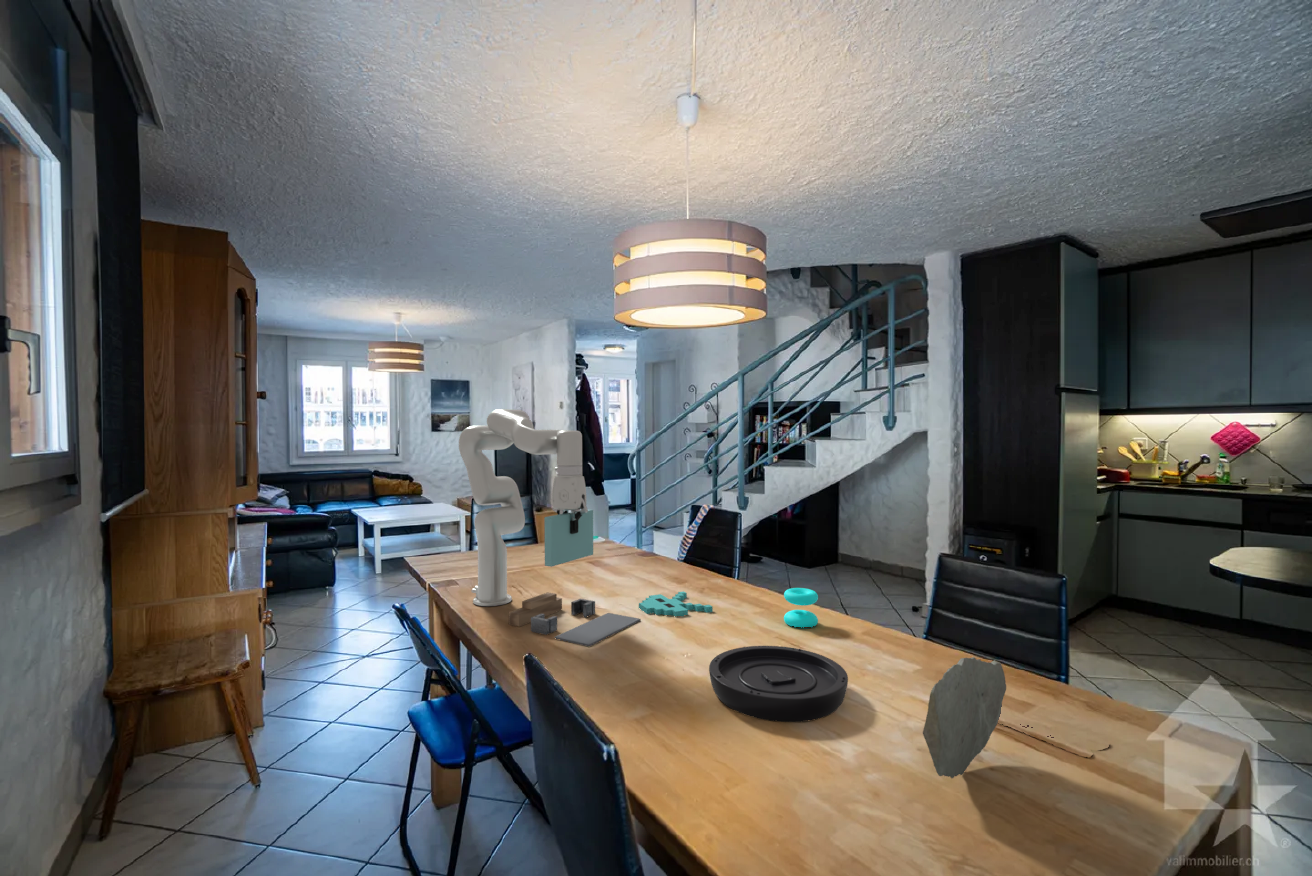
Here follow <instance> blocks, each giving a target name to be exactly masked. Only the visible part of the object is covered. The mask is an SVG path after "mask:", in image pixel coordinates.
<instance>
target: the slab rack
mask: <svg viewBox="0 0 1312 876" xmlns="http://www.w3.org/2000/svg"><path fill="white" fill-rule="evenodd" d="M570 602H571V603H570V604H571V605H570V606H571V607H570V609H571V610H570V614H571V615H572V616H576V615H579V614H580V613H582V616H584V617H583V618H586V617H587V616H589V615H591V616H594V615H596V601H595V600H591V599H585V598H578V599H575V600H573V601H570ZM578 613H579V614H578ZM571 615H570V616H571ZM589 617H590V616H589ZM587 618H588V617H587ZM556 630H557V631H558V616H556V615H555V616H554V615H553V616H550V617H548V618H546V616H545V614H539V615H536V616H535V617H531V622H530V632H531V631H532V632H531V633H536V634H540V633H541V635H546V636H547V634H548V635H550V634H551V633H552V634H553V633H555V632H556ZM554 631H555V632H554Z"/></svg>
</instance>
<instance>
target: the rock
mask: <svg viewBox="0 0 1312 876" xmlns="http://www.w3.org/2000/svg"><path fill="white" fill-rule="evenodd" d="M1006 691H1007V684H1006V675H1005V671H1004V668H1003V665H1002V663H1001V662H1000V661H997V660H993V661H991V662H987V661H984V660H981V659H980V658H979V659H977V658H976V657H975V656H973V657H963V658H962V657H961V658H960V659H959V661H958V662H957V663H956V664H953V665H952V666H951V667H949V668H948V669H947V670H946V671H945V672H944V673H943V675H942V678H941V679H939V680H938V682H936V683H935V684H934V685H933V686H932V688H931V691H930V693H929V698H928V699H929V700H928V705H927V713H926V718H925V723H924V726H923V730H922V736H923V738H924V740H925V743H926V746H927V748H928V751H929V754H930V758H931V760H932V762H933V766H934V768H935V772H936V773H937V776H939V777H943V776H944V777H948V778H949V777H950V778H951V779H954V778H955V777H958V776H959V775H960V776H963V775H964V773H965V772H966V770H967V769H968V767H969V765H971V762H973V760H974V759H975V758H976V757H977V755H979V754H981V753H982V751H983V750H984V748H985V747H986V745H987V744H988V741H989V740H990V738H991V735H992V733H993V731H994V730H995V729H996V727H997V725H998V720H999V717H1000V714H1001V707H1002V704H1003V700H1004V698H1005V697H1004V696H1005V694H1006ZM964 771H965V772H964Z"/></svg>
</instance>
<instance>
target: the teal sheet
mask: <svg viewBox="0 0 1312 876" xmlns="http://www.w3.org/2000/svg"><path fill="white" fill-rule="evenodd" d="M571 520H572V518H571V511H569V512H568V513H564V514H559V515H558V514H554V515H548V516H544V520H543V521H544V566H545V567H551V568H552V567H556V566H559V565H563V564H566V563H570V562H574V561H577V560H579V559H582V558H586V557H589V556H593V555H594V509H588V512H587V513H585V514H583V515H582V516H581V517H580V519H579V520H578V533H575V534H570V521H571Z"/></svg>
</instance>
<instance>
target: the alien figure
mask: <svg viewBox="0 0 1312 876" xmlns="http://www.w3.org/2000/svg"><path fill="white" fill-rule="evenodd" d="M687 597H688V595H687V592H686V591H684V590H683V591H678V592H677V593H676V594H675V595H674V596H672V597H671V598H668V597H667V596H666V595H665V596H664V595H663V594H661V593H660V594H653V595H648V597H645V599H644V600H641V602H638V609H639V608H640V609H641V610H640V609H639V610H640V611H642V612H643V611H644V612H643V613H645V614H647V615H650V613H651V614H654V615H655V614H656V616H660V615H664V616H665V615H671V616H673V615H674V616H675V617H674V616H673V617H674V618H677V617H676V616H681V617H685V616H684V615H688V616H689V611H688V610H690V611H695V612H704V613H707V614H708V613H713V610H714V609H713V608H714V606H712V605H711V604H702V603H692V602H686V603H684V602H683V601H685V599H687Z"/></svg>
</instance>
